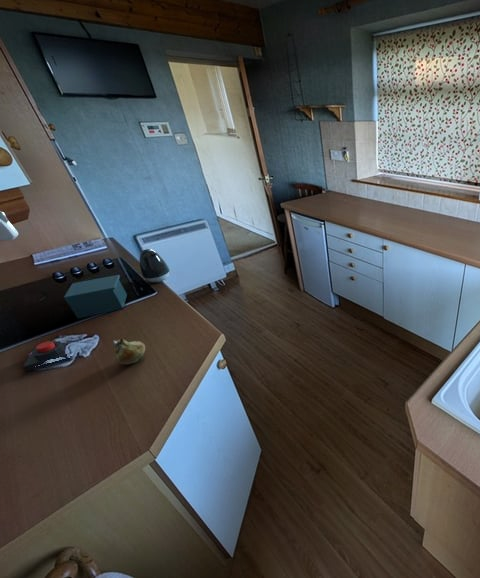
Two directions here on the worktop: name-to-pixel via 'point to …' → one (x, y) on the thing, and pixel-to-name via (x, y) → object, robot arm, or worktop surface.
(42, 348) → the button
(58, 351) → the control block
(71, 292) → the lid
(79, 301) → the tin
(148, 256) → the black egg-shaped dome
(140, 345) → the onion
